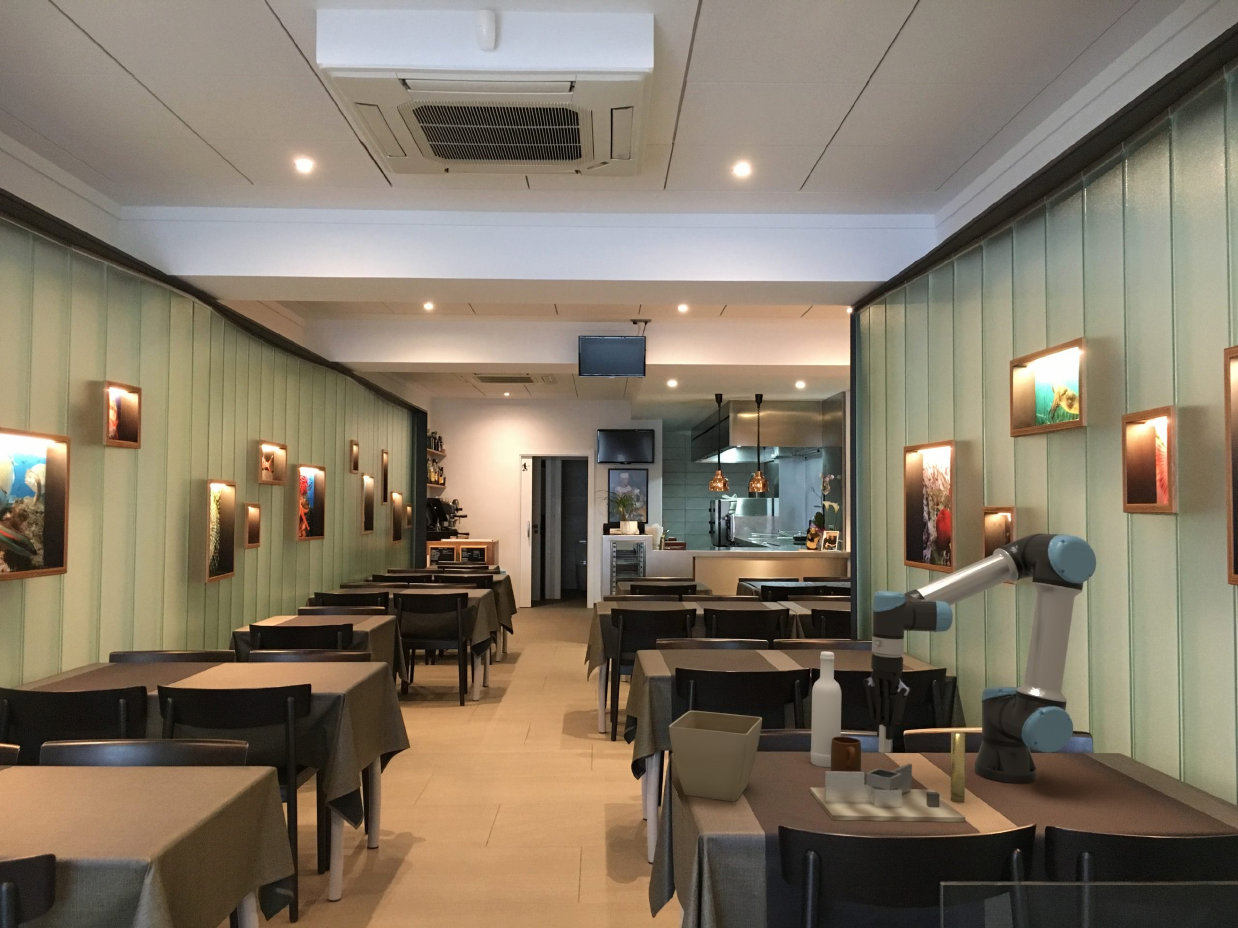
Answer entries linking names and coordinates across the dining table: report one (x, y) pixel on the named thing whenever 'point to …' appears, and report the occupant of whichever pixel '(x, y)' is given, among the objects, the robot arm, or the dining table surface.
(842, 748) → the mug
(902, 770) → the square frame with bar
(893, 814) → the board
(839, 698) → the bottle
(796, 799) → the dining table surface
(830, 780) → the hinge base
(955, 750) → the pin
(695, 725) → the flower pot
